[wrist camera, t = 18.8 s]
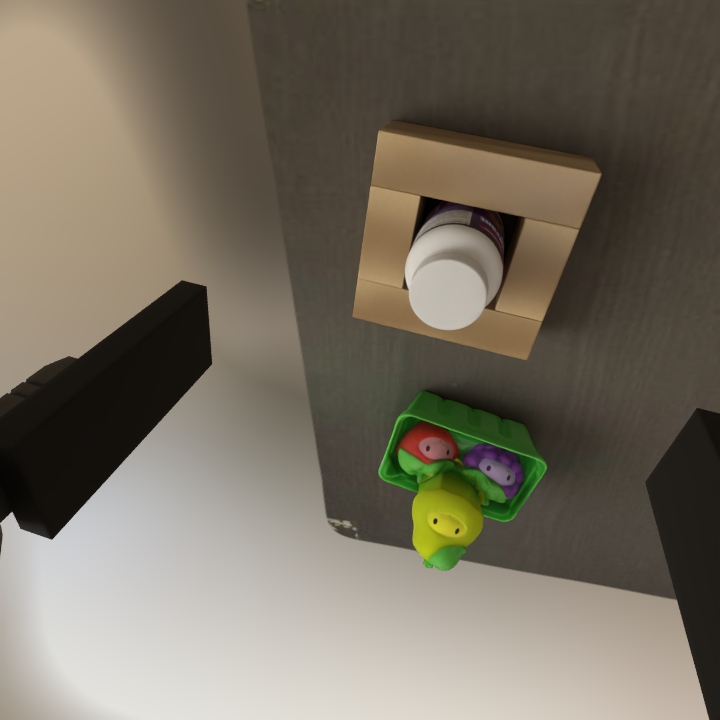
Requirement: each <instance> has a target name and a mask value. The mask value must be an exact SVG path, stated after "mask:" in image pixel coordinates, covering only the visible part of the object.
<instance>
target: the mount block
mask: <svg viewBox="0 0 720 720" xmlns="http://www.w3.org/2000/svg"><path fill="white" fill-rule="evenodd" d="M601 176H602V173H601V171H600V170H599V168H598V167H597V165H596V163H595V162H594V160H593V158H591V157H585V156H580V155H575V154H570V153H564V152H559V151H554V150H548V149H543V148H538V147H533V146H527V145H522V144H517V143H512V142H506V141H501V140H496V139H491V138H485V137H480V136H475V135H470V134H464V133H459V132H454V131H449V130H443V129H438V128H433V127H427V126H422V125H417V124H412V123H406V122H401V121H396V120H393V121H391V122H390V123H389V124H387V125H386V126H385V127H383V128H382V129H380V130H379V132H378V138H377V146H376V153H375V160H374V167H373V174H372V181H371V188H370V195H369V202H368V209H367V216H366V223H365V230H364V238H363V245H362V252H361V259H360V266H359V273H358V281H357V288H356V295H355V303H354V310H353V317H354V318H358V319H362V320H366V321H370V322H374V323H378V324H382V325H386V326H390V327H394V328H398V329H402V330H406V331H410V332H414V333H419V334H423V335H427V336H431V337H435V338H439V339H443V340H447V341H451V342H455V343H459V344H463V345H467V346H471V347H475V348H479V349H483V350H487V351H491V352H495V353H499V354H503V355H507V356H511V357H515V358H519V359H523V360H527V359H528V357H529V354H530V352H531V349H532V347H533V344H534V342H535V339H536V337H537V334H538V332H539V330H540V327H541V325H542V321H543V319H544V317H545V314H546V312H547V310H548V307H549V305H550V302H551V300H552V297H553V295H554V292H555V290H556V287H557V285H558V282H559V280H560V277H561V275H562V272H563V270H564V267H565V265H566V262H567V260H568V258H569V255H570V253H571V250H572V248H573V245H574V243H575V240H576V238H577V235H578V233H579V228H581V225H582V223H583V220H584V218H585V216H586V213H587V211H588V208H589V206H590V203H591V201H592V198H593V196H594V193H595V191H596V188H597V186H598V183H599V181H600V178H601ZM426 197H430V198H435V199H440V200H444V201H449V202H454V203H459V204H463V205H468V206H473V207H478V208H483V209H487V210H492V211H497V212H502V213H506V214H511V215H516V216H519V217H518V220H517V223H516V226H515V229H514V233H513V236H512V239H511V242H510V245H509V248H508V251H507V254H506V257H505V260H504V263H503V276H502V281H501V284H500V287H499V289H498V292H497V293H496V295H495V297H494V298H493V299H492V301H491V302H490V303H489V304H488V305H487V306H485V308H484V310H483V312H482V314H481V315H480V316H479V317H478V319H477V320H475V321H474V322H473V323H472V324H470V325H468V326H466V327H464V328H461V329H457V330H441V329H437V328H434V327H432V326H429V325H428V324H426V323H424V322H423V321H422V320H421V319H420V318H419V317H418V316H417V315H416V314H415V312H414V311H413V309H412V307H411V304H410V300H409V289H408V286H407V283H406V279H405V265H406V260H407V257H408V254H409V252H410V250H411V248H412V245H413V243H414V241H415V239H416V237H417V235H418V233H419V231H420V226H421V222H422V217H423V212H424V207H425V202H426Z"/></svg>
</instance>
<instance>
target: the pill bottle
mask: <svg viewBox="0 0 720 720" xmlns="http://www.w3.org/2000/svg"><path fill="white" fill-rule="evenodd" d="M504 237H505V236H504V227H503V223H502V220H501V218H500V216H499V214H498V212H497V211H492V210H487V209H483V208H478V207H473V206H468V205H463V204H459V203H454V202H449V201H444V200H443V201H442V202H440V203H439V204H437V205H436V206H435V207H434V208H433V209H432V210H431V212H430V213H429V214H428V216H427V217H426V219H425V221H424V223H423V225H422V227H421V229H420V231H419V233H418V235H417V237H416V239H415V241H414V243H413V245H412V248H411V250H410V252H409V254H408V257H407V260H406V265H405V279H406V283H407V286H408V289H409V300H410V304H411V307H412V309H413V311H414V312H415V314H416V315H417V316H418V317H419V318H420V319H421V320H422V321H423V322H424V323H426V324H428V325H429V326H432V327H434V328H437V329H441V330H457V329H461V328H464V327H466V326H468V325H470V324H472V323H473V322H474V321H475V320H477V319H478V317H479V316H480V315H481V314H482V312H483V310H484V308H485V306H487V305H488V304H489V303H490V302H491V301H492V299H493V298H494V297H495V295H496V293H497V292H498V289H499V287H500V284H501V281H502V276H503V260H504Z"/></svg>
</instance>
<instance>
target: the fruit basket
mask: <svg viewBox="0 0 720 720" xmlns="http://www.w3.org/2000/svg"><path fill="white" fill-rule="evenodd" d="M546 470H547V465H546V463H545V461H544V460H543V458H542V457H541V455H540V454H539V453H538V452H537V450H536V448H535V446H534V444H533V442H532V440H531V438H530V435H529V433H528V431H527V429H526V427H525V425H523V424H521V423H518V422H515V421H512V420H509V419H501V418H500V417H498V416H496V415H494V414H491V413H488V412H485V411H482V410H478V409H473V410H472V409H471V408H470V407H469V406H467V405H464V404H461V403H458V402H455V401H452V400H446V399H445V400H443V399H442V398H441V397H439V396H437V395H434V394H432V393H429V392H426V391H421V392H420V393H419V394H418V395H417V397H416V398H415V399H414V401H413V402H412V403H411V405H410V406H409V407H408V409H407V410H406V411H404V412H403V413H402V414H401V415H400V416H399V417H398V418H397V421H396V424H395V427H394V430H393V433H392V436H391V439H390V441H389V444H388V447H387V450H386V452H385V455H384V458H383V460H382V463H381V465H380V468H379V476H380V477H381V478H382V479H383V480H384V481H386V482H389V483H392V484H395V485H398V486H400V487H403V488H406V489H408V490H411V491H414V492H417V493H418V495H417V496H416V497H415V498H414V501H413V506H412V516H413V523H414V532H413V544H414V546H415V548H416V550H417V551H418V553H419V554H420V555H421V556H422V557H423V558H424V562H423V564H424V566H426V567H427V568H432V567H433V566H435V567H436V568H437V569H439V570H442V571H446V570H450V569H451V568H453V567H454V566H455V565H456V564H457V563H458V561H459V559H460V557H461V556H462V555H463V554H465V553H466V552H467V550H466V547H467V546H468V545H469V544H471V543H472V542H473V541H474V540H475V539H476V538H477V536H478V535H479V533H480V532H481V530H482V527H483V521H484V519H483V516H485V517H488V518H492V519H494V520H498V521H501V522H507V521H510V520H512V519H514V517H515V516H516V515H517V513H518V511H519V510H520V509H521V507H522V506H523V505H524V503H525V502H526V500H527V499H528V497H529V496H530V494H531V493H532V492H533V490H534V488H535V487H536V485H537V484H538V482H539V481H540V480H541V478H542V477H543V475H544V473H545V472H546Z"/></svg>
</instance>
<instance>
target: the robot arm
mask: <svg viewBox="0 0 720 720" xmlns="http://www.w3.org/2000/svg"><path fill="white" fill-rule="evenodd" d="M206 288H207V287H206V286H203V285H198V284H194V283H190V282H186V281H181V282H179V283H178V284H176V285H175V286H174V287H172V288H171V289H170V290H169V291H167V292H166V293H165V294H163V295H162V296H161V297H159V298H158V299H157V300H156V301H154V302H153V303H151V304H150V305H149V306H148V307H146V308H145V309H143V310H142V311H141V312H139V313H138V314H137V315H135V316H134V317H133V318H131V319H130V320H129V321H127V322H126V323H125V324H123V325H122V326H121V327H119V328H118V329H117V330H116V331H114V332H113V333H112V334H110V335H109V336H107V337H106V338H105V339H103V340H102V341H101V342H99V343H98V344H97V345H96V346H94V347H93V348H92V349H90V350H89V351H88V352H87V353H85V354H84V355H82V356H81V357H80V358H78V359H77V358H73V357H70V356H68V357H66V358H64V359H61V360H58V361H56V362H54V363H51V364H49V365H47V366H44V367H43V368H42V369H40V370H39V371H37V372H36V373H35V374H33V375H32V376H30V377H29V378H28V379H26V382H25V383H24V382H22V383H21V384H19V385H18V386H16V387H15V388H14V389H12V390H11V393H10V394H8V393H7V394H5V395H4V396H2V397H1V398H0V523H1V522H2V521H3V520H4V519H5V518H6V517H7V516H8V515H9V514H10V513H11V512H13V514H14V516H15V518H16V520H17V522H18V524H19V527H20V529H23V530H26V531H29V532H31V533H34V534H37V535H40V536H43V537H46V538H49V539H53V538H54V537H55V536H56V535H57V534H58V533H59V531H60V530H61V529H62V528H63V527H64V526H65V525H66V524H67V523H68V522H69V520H70V519H71V518H72V517H73V516H74V515H75V514H76V513H77V512H78V511H79V509H80V508H81V507H82V506H83V505H84V504H85V503H86V502H87V501H88V500H89V499H90V497H91V496H92V495H93V494H94V493H95V492H96V491H97V490H98V489H99V488H100V487H101V485H102V484H103V483H104V482H105V481H106V480H107V479H108V478H109V477H110V476H111V474H112V473H113V472H114V471H115V470H116V469H117V468H118V467H119V466H120V465H121V463H122V462H123V461H124V460H125V459H126V458H127V457H128V456H129V455H130V454H131V453H132V451H133V450H134V449H135V448H136V447H137V446H138V445H139V444H140V443H141V441H142V440H143V439H144V438H145V437H146V436H147V435H148V434H149V433H150V432H151V431H152V429H153V428H154V427H155V426H156V425H157V424H158V423H159V422H160V421H161V420H162V418H163V417H164V416H165V415H166V414H167V413H168V412H169V411H170V410H171V409H172V407H173V406H174V405H175V404H176V403H177V402H178V401H179V400H180V398H182V397H183V395H184V394H185V393H186V392H187V391H188V390H189V389H190V388H191V387H192V386H193V384H194V383H195V382H196V381H197V380H198V379H199V378H200V377H201V376H202V375H203V374H204V372H205V371H206V370H207V369H208V368H209V367H210V366H211V365H212V355H211V342H210V328H209V315H208V301H207V289H206ZM645 483H646V487H647V490H648V494H649V498H650V501H651V505H652V509H653V513H654V516H655V520H656V524H657V527H658V531H659V535H660V539H661V542H662V546H663V550H664V553H665V557H666V561H667V564H668V568H669V572H670V576H671V579H672V583H673V587H674V590H675V594H676V598H677V601H678V605H679V609H680V612H681V616H682V620H683V624H684V627H685V631H686V635H687V638H688V642H689V646H690V650H691V653H692V657H693V661H694V664H695V668H696V671H697V675H698V679H699V682H700V686H701V690H702V694H703V697H704V701H705V705H706V709H707V713H708V716H709V720H720V414H719V413H715V412H711V411H707V410H703V409H699V408H697V409H696V410H695V412H694V413H693V415H692V416H691V417H690V419H689V420H688V422H687V423H686V425H685V426H684V427H683V429H682V430H681V432H680V433H679V435H678V436H677V437H676V439H675V440H674V442H673V443H672V445H671V446H670V447H669V449H668V450H667V452H666V453H665V455H664V456H663V457H662V459H661V460H660V462H659V463H658V465H657V466H656V467H655V469H654V470H653V472H652V473H651V475H650V476H649V477H648V479H647V480H646V482H645ZM2 535H3V534H2V529H1V525H0V553H1V544H2Z"/></svg>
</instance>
